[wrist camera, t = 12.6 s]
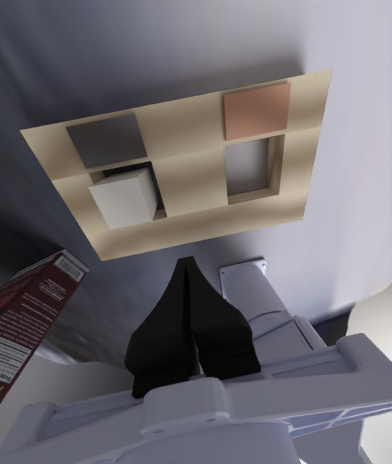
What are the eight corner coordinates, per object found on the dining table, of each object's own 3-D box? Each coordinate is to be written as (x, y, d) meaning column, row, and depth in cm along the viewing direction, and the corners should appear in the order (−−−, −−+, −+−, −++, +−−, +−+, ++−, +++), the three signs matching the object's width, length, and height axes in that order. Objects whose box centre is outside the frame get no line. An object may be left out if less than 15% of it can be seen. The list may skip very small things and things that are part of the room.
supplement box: (48, 290, 25) (-108, 471, 11) (18, 271, 23) (-225, 469, 9) (92, 269, 24) (-19, 440, 10) (66, 246, 22) (-124, 429, 8)
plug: (158, 200, 20) (152, 221, 15) (127, 206, 20) (110, 229, 15) (148, 167, 18) (137, 177, 13) (113, 174, 18) (87, 187, 13)
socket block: (288, 210, 23) (304, 220, 20) (110, 247, 22) (100, 263, 19) (306, 81, 16) (336, 67, 13) (46, 132, 15) (15, 130, 12)
